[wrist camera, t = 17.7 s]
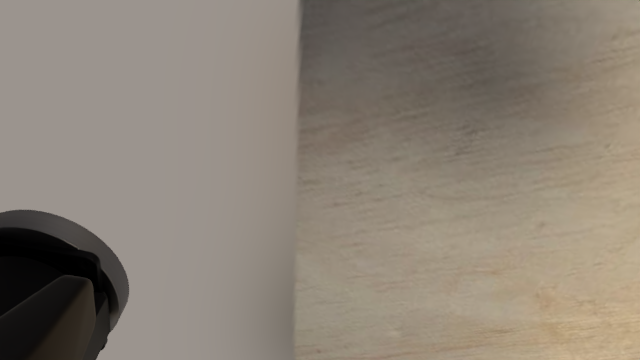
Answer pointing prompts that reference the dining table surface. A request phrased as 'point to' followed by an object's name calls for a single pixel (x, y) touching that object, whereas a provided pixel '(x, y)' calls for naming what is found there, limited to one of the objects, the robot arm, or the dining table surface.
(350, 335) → the dining table surface
